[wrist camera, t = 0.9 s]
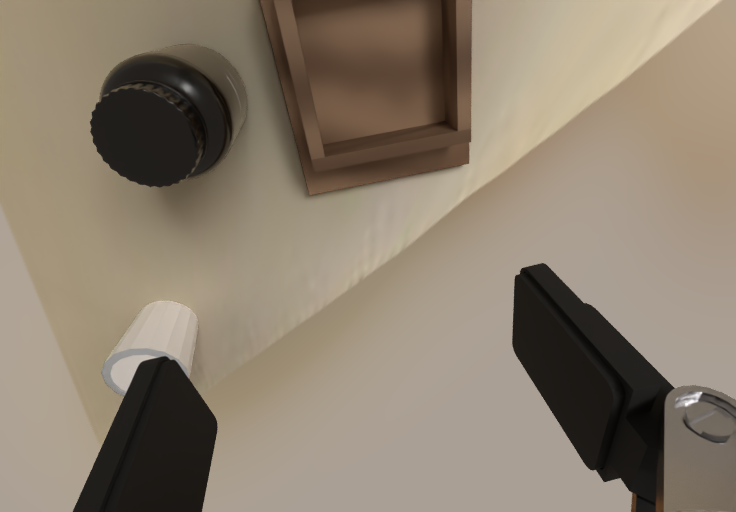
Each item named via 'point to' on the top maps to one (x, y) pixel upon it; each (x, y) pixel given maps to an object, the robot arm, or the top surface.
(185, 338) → the shot glass
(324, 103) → the bottle cradle
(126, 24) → the top surface
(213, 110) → the supplement bottle
